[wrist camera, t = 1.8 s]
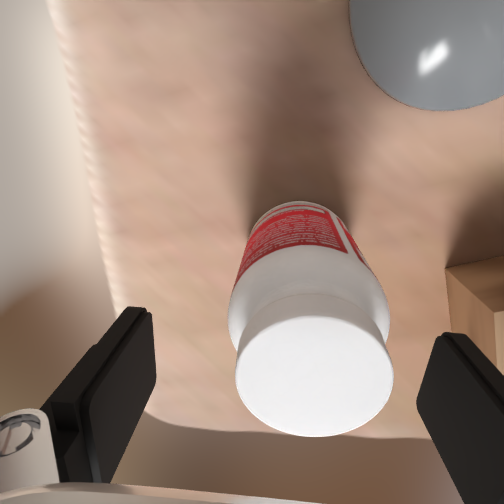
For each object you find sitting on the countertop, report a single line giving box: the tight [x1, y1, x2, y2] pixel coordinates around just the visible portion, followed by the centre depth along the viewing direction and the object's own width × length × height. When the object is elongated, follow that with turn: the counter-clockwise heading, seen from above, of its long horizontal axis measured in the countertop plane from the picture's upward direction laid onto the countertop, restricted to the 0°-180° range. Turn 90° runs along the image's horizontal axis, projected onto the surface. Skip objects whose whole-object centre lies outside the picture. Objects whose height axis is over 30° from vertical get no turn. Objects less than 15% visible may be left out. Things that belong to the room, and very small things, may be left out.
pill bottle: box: [228, 201, 394, 437], centre depth 15 cm, size 6×6×11 cm
